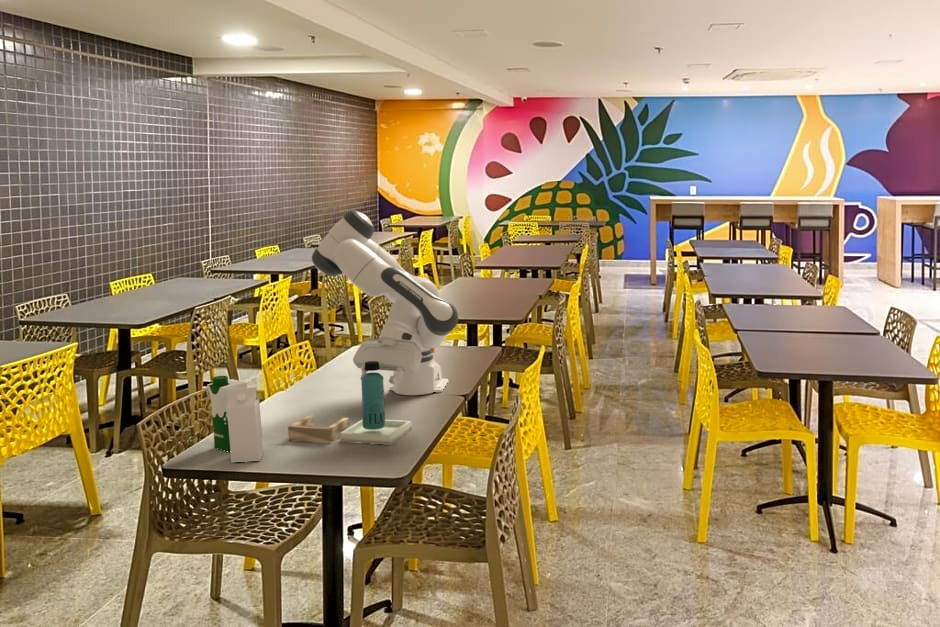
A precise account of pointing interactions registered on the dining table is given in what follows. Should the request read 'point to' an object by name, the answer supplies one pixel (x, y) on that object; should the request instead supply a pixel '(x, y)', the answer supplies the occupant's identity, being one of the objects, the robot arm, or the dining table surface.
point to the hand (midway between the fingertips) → (377, 381)
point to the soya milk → (221, 408)
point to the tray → (377, 432)
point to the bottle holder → (316, 431)
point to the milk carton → (244, 425)
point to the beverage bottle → (372, 397)
